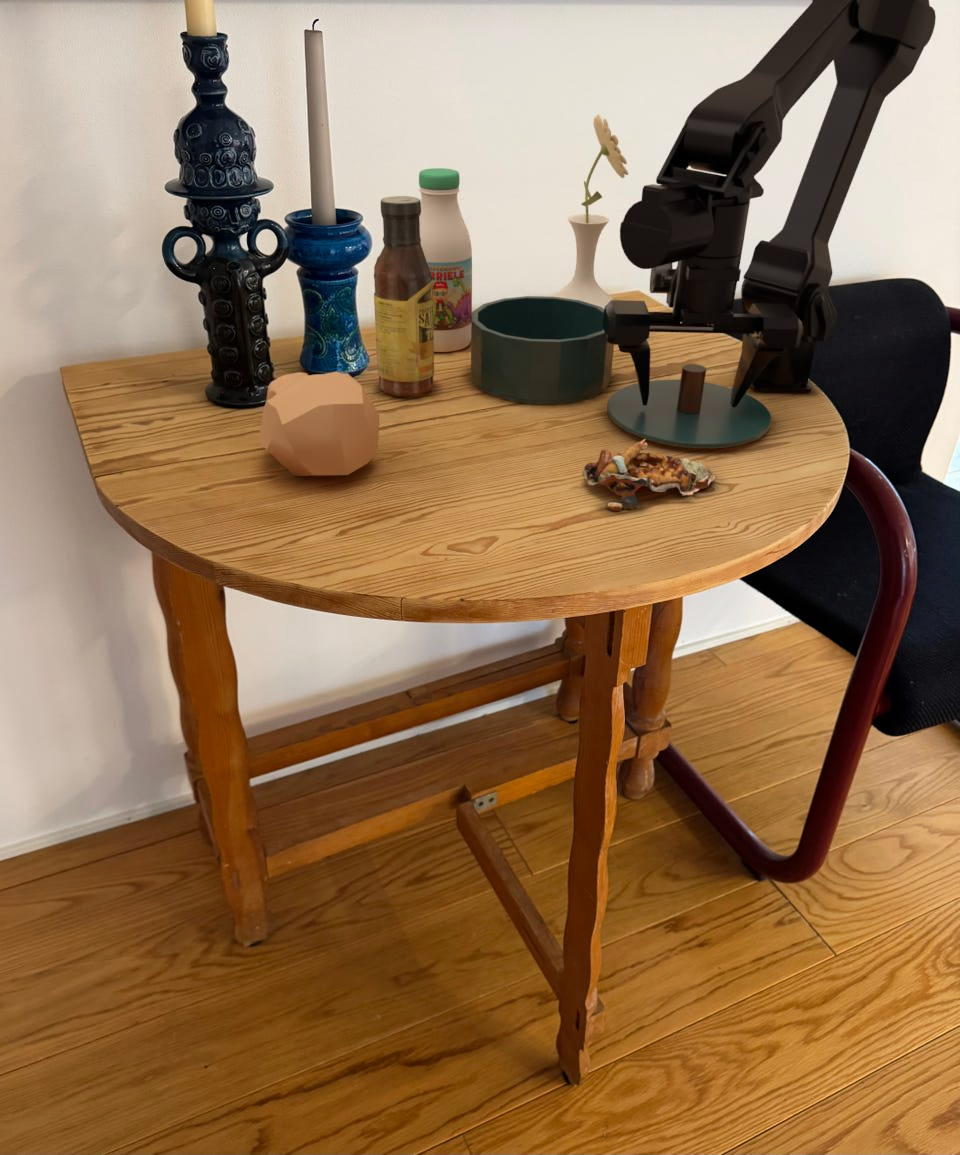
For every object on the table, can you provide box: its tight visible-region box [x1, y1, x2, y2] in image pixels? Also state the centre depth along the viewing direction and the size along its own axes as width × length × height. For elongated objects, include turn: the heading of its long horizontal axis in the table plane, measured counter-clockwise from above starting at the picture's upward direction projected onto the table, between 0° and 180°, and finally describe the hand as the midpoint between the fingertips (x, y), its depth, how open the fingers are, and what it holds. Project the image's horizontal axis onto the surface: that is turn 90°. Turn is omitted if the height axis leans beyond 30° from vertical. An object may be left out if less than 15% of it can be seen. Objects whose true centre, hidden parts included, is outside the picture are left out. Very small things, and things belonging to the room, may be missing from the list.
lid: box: [606, 363, 772, 449], centre depth 98 cm, size 17×17×6 cm
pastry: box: [581, 438, 716, 512], centre depth 86 cm, size 7×12×4 cm, turn 114°
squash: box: [257, 371, 380, 477], centre depth 90 cm, size 11×20×9 cm, turn 24°
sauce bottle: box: [373, 195, 435, 397], centre depth 100 cm, size 6×6×20 cm
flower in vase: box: [551, 113, 629, 309], centre depth 117 cm, size 13×11×25 cm
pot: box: [470, 295, 615, 405], centre depth 107 cm, size 16×16×7 cm
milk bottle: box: [418, 167, 473, 353], centre depth 112 cm, size 8×8×20 cm
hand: (688, 404), depth 98 cm, fingers open, 9 cm apart
